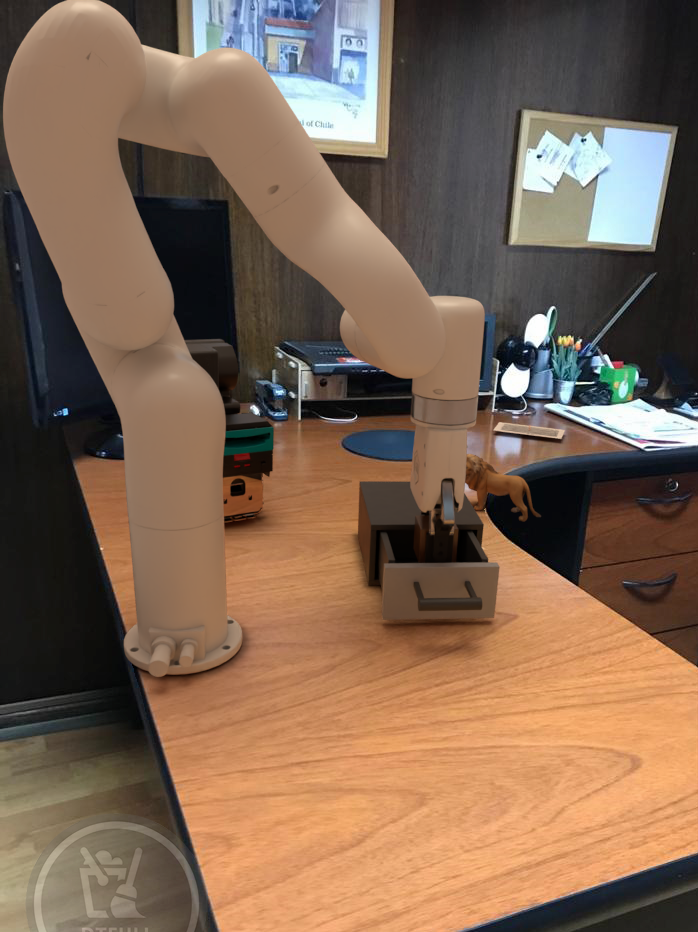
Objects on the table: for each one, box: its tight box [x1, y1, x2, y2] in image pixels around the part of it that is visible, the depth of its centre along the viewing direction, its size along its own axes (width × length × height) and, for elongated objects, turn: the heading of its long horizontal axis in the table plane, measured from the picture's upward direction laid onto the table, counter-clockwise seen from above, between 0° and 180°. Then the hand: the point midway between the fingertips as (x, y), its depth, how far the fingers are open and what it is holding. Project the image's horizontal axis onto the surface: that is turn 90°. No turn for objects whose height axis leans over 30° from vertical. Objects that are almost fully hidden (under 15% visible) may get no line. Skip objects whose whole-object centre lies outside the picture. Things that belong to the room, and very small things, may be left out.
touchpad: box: [493, 421, 566, 440], centre depth 173 cm, size 8×15×2 cm, turn 72°
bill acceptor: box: [184, 338, 275, 523], centre depth 120 cm, size 10×23×25 cm, turn 33°
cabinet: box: [357, 480, 485, 586], centre depth 107 cm, size 17×15×9 cm
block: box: [413, 515, 458, 563], centre depth 94 cm, size 4×4×4 cm
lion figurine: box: [465, 453, 542, 522], centre depth 126 cm, size 15×5×9 cm, turn 66°
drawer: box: [375, 530, 501, 621], centre depth 94 cm, size 21×13×7 cm, turn 7°
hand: (434, 553), depth 95 cm, fingers closed on block, 4 cm apart
